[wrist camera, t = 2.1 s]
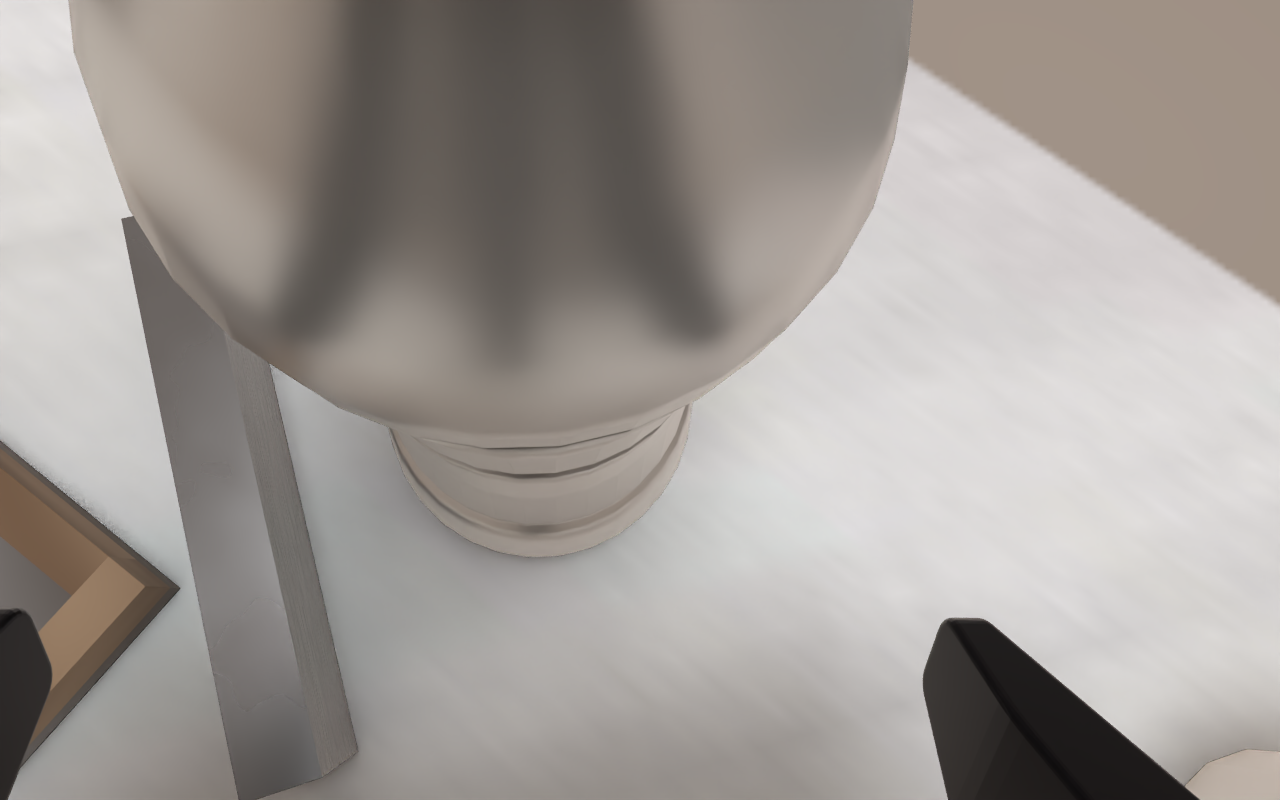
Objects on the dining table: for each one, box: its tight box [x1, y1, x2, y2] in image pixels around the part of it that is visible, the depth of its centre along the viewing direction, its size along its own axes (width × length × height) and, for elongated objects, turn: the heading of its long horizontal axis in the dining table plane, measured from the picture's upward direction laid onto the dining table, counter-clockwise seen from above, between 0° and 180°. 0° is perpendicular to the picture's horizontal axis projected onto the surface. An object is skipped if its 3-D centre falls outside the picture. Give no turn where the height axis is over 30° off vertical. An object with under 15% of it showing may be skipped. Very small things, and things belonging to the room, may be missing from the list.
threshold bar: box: [122, 216, 358, 800], centre depth 19 cm, size 12×2×3 cm, turn 17°
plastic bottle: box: [68, 0, 913, 557], centre depth 11 cm, size 6×7×20 cm
